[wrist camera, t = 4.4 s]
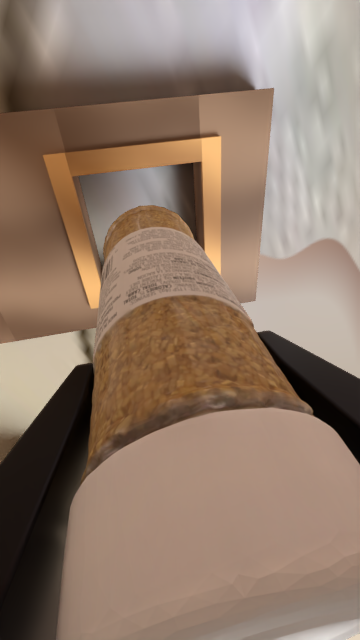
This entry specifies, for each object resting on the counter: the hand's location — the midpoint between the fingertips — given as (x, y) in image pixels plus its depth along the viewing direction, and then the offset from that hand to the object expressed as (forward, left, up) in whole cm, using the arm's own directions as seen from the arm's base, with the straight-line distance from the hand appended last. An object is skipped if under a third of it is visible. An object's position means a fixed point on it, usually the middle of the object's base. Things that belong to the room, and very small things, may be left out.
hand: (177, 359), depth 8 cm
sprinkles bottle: (0, 0, -8) cm, 8 cm away
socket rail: (0, +6, -13) cm, 14 cm away
